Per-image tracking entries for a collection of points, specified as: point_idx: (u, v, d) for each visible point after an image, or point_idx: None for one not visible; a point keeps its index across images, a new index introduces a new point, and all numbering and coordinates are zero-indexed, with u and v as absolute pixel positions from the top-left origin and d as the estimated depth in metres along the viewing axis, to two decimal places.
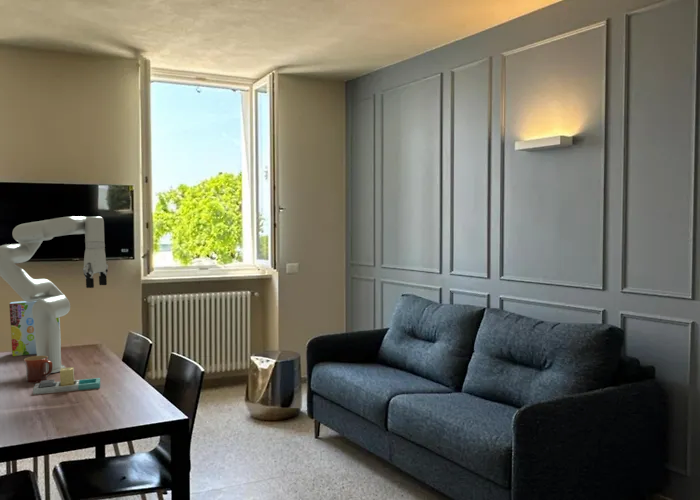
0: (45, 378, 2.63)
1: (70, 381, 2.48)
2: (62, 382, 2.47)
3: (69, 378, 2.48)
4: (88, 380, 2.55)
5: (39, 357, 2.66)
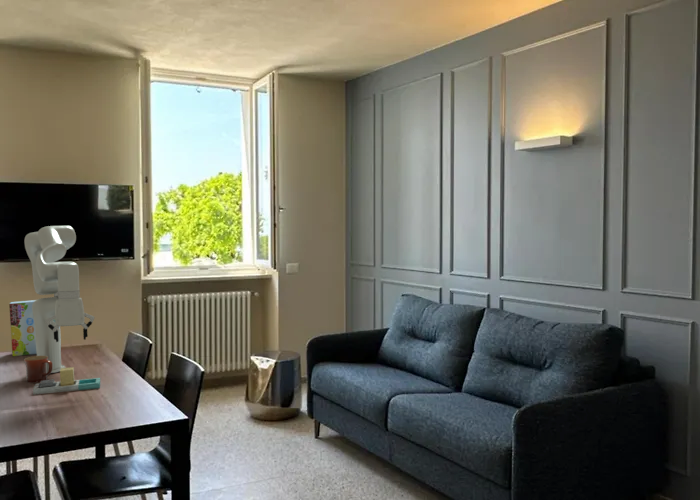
0: (45, 378, 2.63)
1: (70, 381, 2.48)
2: (62, 382, 2.47)
3: (69, 378, 2.48)
4: (88, 380, 2.55)
5: (39, 357, 2.66)
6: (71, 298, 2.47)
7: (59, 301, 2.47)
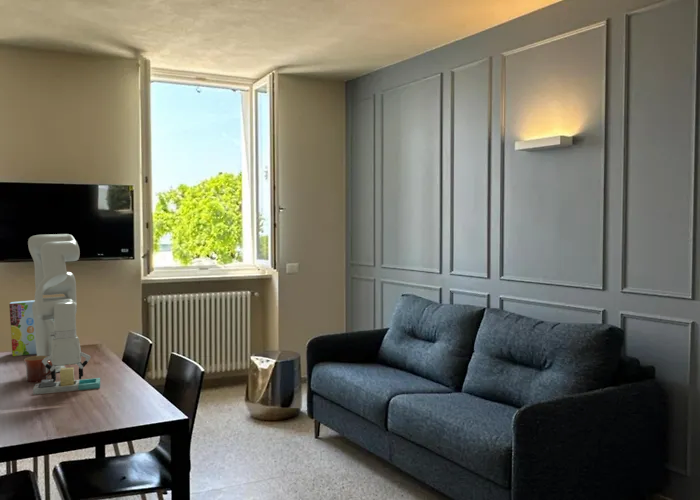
0: (45, 378, 2.63)
1: (70, 381, 2.48)
2: (62, 382, 2.47)
3: (69, 378, 2.48)
4: (88, 380, 2.55)
5: (39, 357, 2.66)
6: (67, 338, 2.46)
7: (55, 340, 2.45)
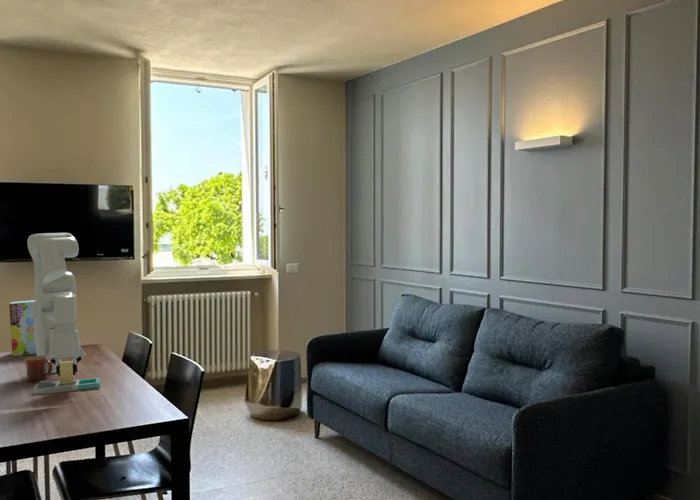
0: (45, 378, 2.63)
1: (70, 374, 2.49)
2: (62, 375, 2.48)
3: (69, 371, 2.48)
4: (88, 380, 2.55)
5: (39, 357, 2.66)
6: (67, 331, 2.46)
7: (55, 334, 2.45)
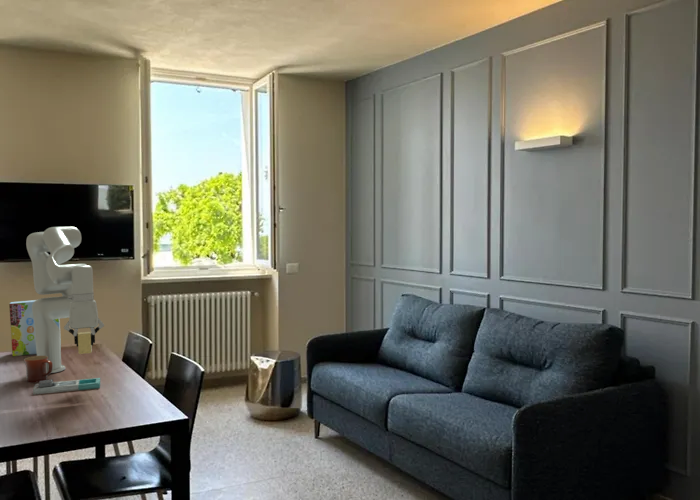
0: (45, 378, 2.63)
1: (88, 344, 2.50)
2: (80, 345, 2.49)
3: (87, 341, 2.49)
4: (88, 380, 2.55)
5: (39, 357, 2.66)
6: (85, 301, 2.47)
7: (73, 303, 2.47)
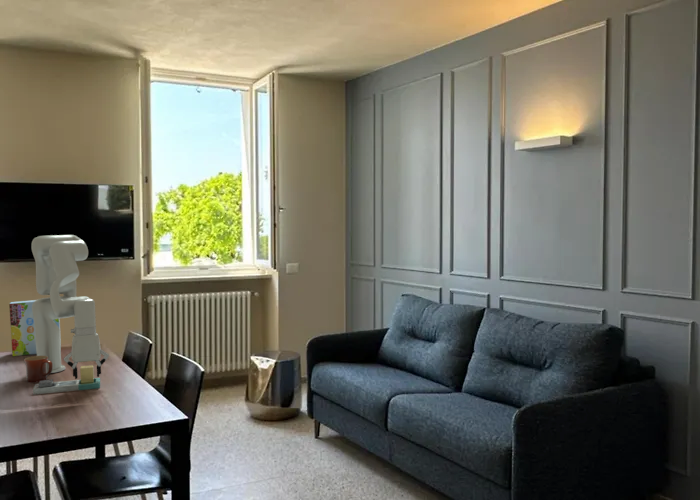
0: (45, 378, 2.63)
1: (90, 378, 2.50)
2: (82, 379, 2.50)
3: (89, 375, 2.50)
4: None
5: (39, 357, 2.66)
6: (88, 335, 2.48)
7: (76, 337, 2.48)
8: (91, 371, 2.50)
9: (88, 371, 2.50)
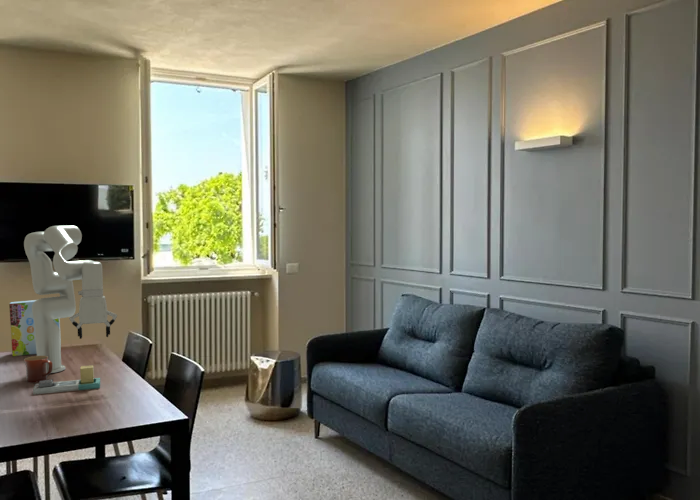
0: (45, 378, 2.63)
1: (90, 378, 2.50)
2: (82, 379, 2.50)
3: (89, 375, 2.50)
4: None
5: (39, 357, 2.66)
6: (94, 297, 2.52)
7: (83, 299, 2.52)
8: (91, 371, 2.50)
9: (88, 371, 2.50)
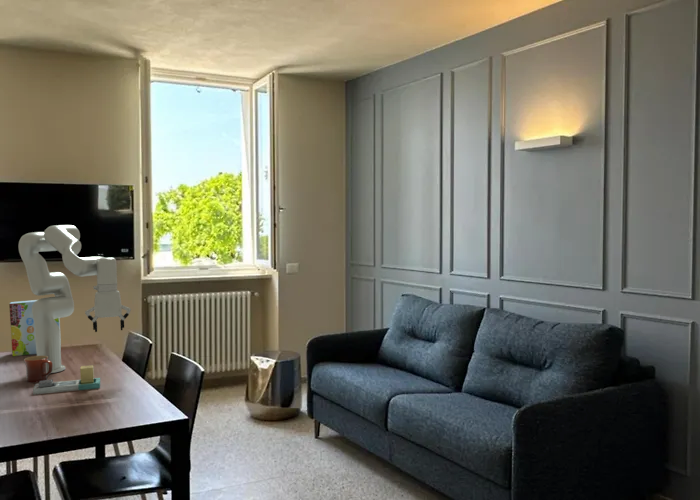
0: (45, 378, 2.63)
1: (90, 378, 2.50)
2: (82, 379, 2.50)
3: (89, 375, 2.50)
4: None
5: (39, 357, 2.66)
6: (110, 291, 2.61)
7: (98, 293, 2.60)
8: (91, 371, 2.50)
9: (88, 371, 2.50)
